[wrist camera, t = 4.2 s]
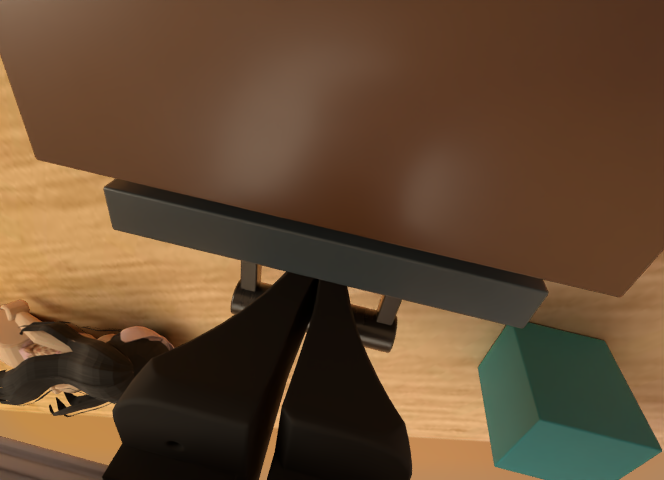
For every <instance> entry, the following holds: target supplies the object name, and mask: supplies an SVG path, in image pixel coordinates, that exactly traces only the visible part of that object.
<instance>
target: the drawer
mask: <svg viewBox="0 0 664 480" xmlns="http://www.w3.org/2000/svg"><path fill="white" fill-rule="evenodd" d="M104 194H105V198H106V202H107V206H108V210H109V215H110V219H111V223H112V227H113V229H114V230H118V231H122V232H126V233H130V234H135V235H139V236H143V237H147V238H151V239H155V240H159V241H163V242H167V243H172V244H176V245H180V246H184V247H188V248H192V249H196V250H200V251H204V252H209V253H213V254H217V255H221V256H225V257H229V258H233V259H237V260H241V279H240V280H239V282H238V284H237V286H236V288H235V290H234V293H233V297H232V301H231V313H232V314H234V315H235V314H237V313H238V312H240V311H241V310H243V309H244V308H245V307H247V306H248V305H249V304H251V303H252V302H253V301H255V300H256V299H257V298H258V297H259V296H261V295H262V294H263V293H264V292H265V291H266V290H267V289H269V288H270V287H271V286H272V285H271V284H267V283H263V282H261V269H262V266H266V267H270V268H274V269H279V270H283V271H287V272H291V273H295V274H299V275H303V276H307V277H311V278H316V279H320V280H324V281H328V282H332V283H336V284H340V285H344V286H349V287H353V288H357V289H361V290H365V291H369V292H373V293H377V294H381V295H382V297H381V300H380V303H379V306H378V309H377V310H373V309H369V308H365V307H361V306H357V305H352V304H351V308H352V312H353V315H354V319H355V322H356V326H357V329H358V332H359V335H360V337H361V340H362V343H363V345H364V347H366V348H370V349H374V350H378V351H382V352H386V353H389V352H390V351H391V349H392V346H393V343H394V340H395V335H396V330H397V316H396V314H397V311H398V308H399V306H400V303H401V301H402V300H406V301H410V302H414V303H418V304H423V305H427V306H431V307H435V308H439V309H443V310H447V311H451V312H455V313H460V314H464V315H468V316H472V317H476V318H480V319H484V320H488V321H493V322H497V323H501V324H505V325H509V326H513V327H517V328H524V327H525V326H526V325H527V323H528V322H529V320H530V319H531V318H532V316H533V315H534V313H535V312H536V311H537V309H538V308H539V307H540V305H541V304H542V302H543V301H544V300H545V298H546V297H547V295H548V290H547V288H546V285H545V283H544V281H543V279H539V278H535V277H531V276H527V275H523V274H518V273H514V272H510V271H506V270H501V269H497V268H493V267H489V266H484V265H480V264H476V263H472V262H468V261H463V260H459V259H455V258H451V257H446V256H442V255H438V254H434V253H430V252H425V251H421V250H417V249H413V248H408V247H404V246H400V245H396V244H391V243H387V242H383V241H379V240H375V239H370V238H366V237H362V236H358V235H353V234H349V233H345V232H341V231H336V230H332V229H328V228H324V227H320V226H315V225H311V224H307V223H303V222H298V221H294V220H290V219H286V218H281V217H277V216H273V215H269V214H265V213H260V212H256V211H252V210H248V209H243V208H239V207H235V206H231V205H226V204H222V203H218V202H214V201H210V200H205V199H201V198H197V197H193V196H188V195H184V194H180V193H176V192H171V191H167V190H163V189H159V188H155V187H150V186H146V185H142V184H138V183H133V182H129V181H125V180H121V179H114V180H113V181H112V182H110V183H109V184H107V185H106V186H104ZM310 321H311V319H310ZM309 325H310V322H309V324H308V327H307V329H306V333H307V331H308V328H309Z"/></svg>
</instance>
